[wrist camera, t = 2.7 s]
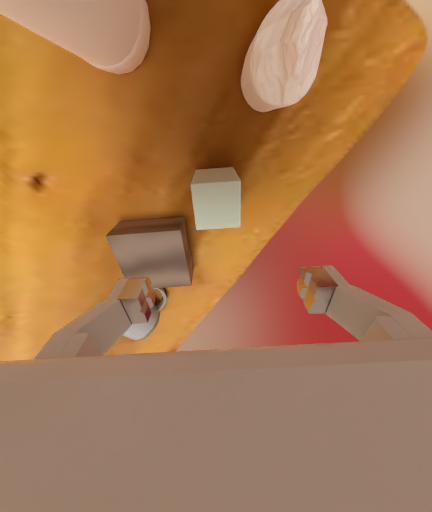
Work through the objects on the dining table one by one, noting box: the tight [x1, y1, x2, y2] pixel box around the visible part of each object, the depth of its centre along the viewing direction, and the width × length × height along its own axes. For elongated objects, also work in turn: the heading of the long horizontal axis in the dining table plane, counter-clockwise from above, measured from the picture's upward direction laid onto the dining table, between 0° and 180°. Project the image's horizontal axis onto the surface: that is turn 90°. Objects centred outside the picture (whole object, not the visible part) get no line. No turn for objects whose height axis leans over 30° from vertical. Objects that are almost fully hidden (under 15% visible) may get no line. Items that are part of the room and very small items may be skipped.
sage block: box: [190, 167, 241, 230], centre depth 23 cm, size 5×5×8 cm
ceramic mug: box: [123, 288, 166, 340], centre depth 35 cm, size 11×8×8 cm
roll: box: [241, 0, 328, 112], centre depth 15 cm, size 6×12×6 cm
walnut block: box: [106, 216, 193, 288], centre depth 30 cm, size 10×10×5 cm
